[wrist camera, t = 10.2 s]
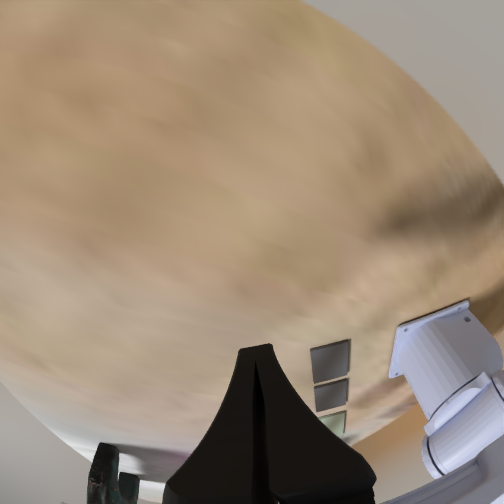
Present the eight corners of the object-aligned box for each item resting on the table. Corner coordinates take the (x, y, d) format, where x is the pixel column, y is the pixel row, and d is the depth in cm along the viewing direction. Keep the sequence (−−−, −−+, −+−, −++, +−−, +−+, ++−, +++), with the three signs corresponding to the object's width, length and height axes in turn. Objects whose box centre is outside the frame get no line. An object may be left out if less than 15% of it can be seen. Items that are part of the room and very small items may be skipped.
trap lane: (347, 339, 24) (354, 354, 22) (339, 455, 37) (342, 464, 35) (131, 376, 25) (126, 391, 23) (216, 475, 38) (216, 484, 36)
